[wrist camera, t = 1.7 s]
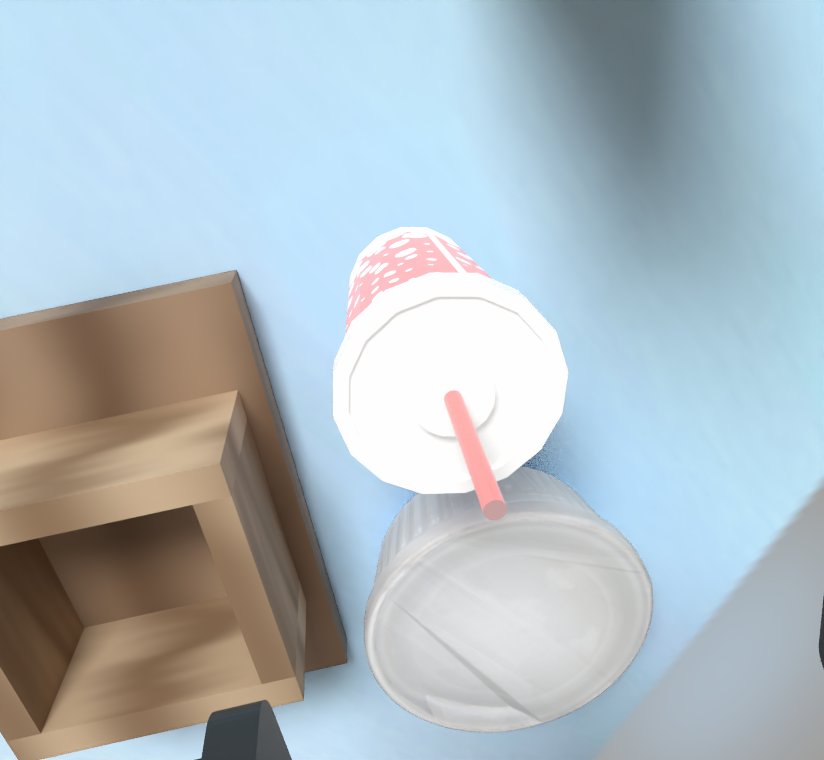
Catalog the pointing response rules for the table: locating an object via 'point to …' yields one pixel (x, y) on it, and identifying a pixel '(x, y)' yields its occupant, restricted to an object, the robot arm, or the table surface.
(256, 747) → the robot arm
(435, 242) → the beverage cup
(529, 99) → the table surface
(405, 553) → the ramekin
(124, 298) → the cup holder
